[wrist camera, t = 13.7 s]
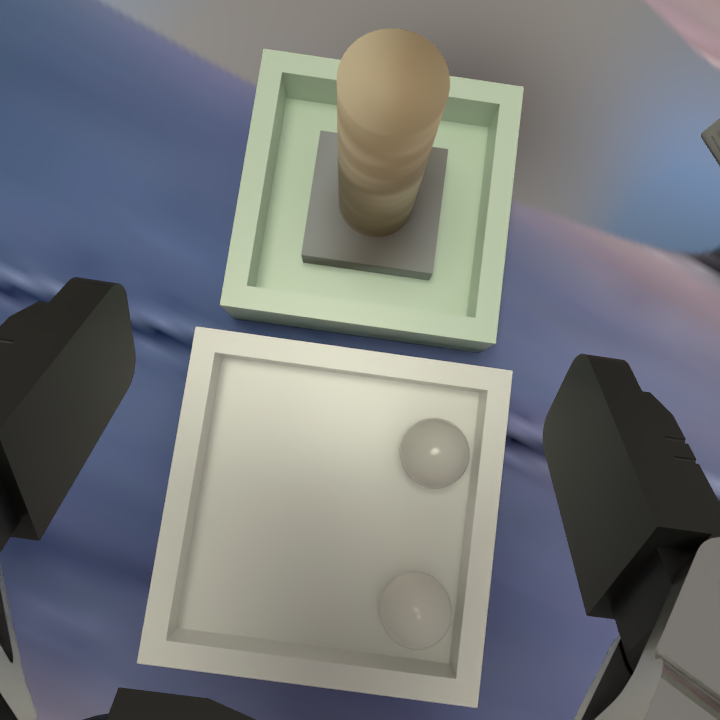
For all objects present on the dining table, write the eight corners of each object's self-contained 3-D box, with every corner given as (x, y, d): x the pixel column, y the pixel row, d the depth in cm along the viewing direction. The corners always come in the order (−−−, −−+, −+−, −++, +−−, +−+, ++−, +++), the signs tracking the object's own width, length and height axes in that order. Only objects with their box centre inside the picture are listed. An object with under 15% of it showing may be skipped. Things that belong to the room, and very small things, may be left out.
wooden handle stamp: (302, 262, 26) (278, 161, 16) (321, 143, 27) (308, -25, 17) (428, 280, 27) (481, 190, 16) (443, 161, 27) (503, 4, 17)
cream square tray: (157, 639, 25) (136, 663, 23) (209, 335, 27) (195, 326, 24) (464, 680, 25) (477, 707, 23) (497, 375, 27) (512, 370, 25)
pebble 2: (373, 629, 25) (377, 657, 22) (381, 559, 25) (387, 577, 22) (440, 638, 25) (454, 667, 22) (448, 568, 25) (463, 587, 22)
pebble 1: (392, 480, 25) (398, 487, 22) (400, 413, 26) (408, 412, 23) (457, 489, 25) (473, 497, 22) (465, 423, 26) (480, 422, 23)
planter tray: (233, 318, 27) (220, 304, 24) (271, 88, 29) (263, 48, 26) (479, 352, 27) (495, 343, 24) (504, 122, 29) (523, 86, 26)
